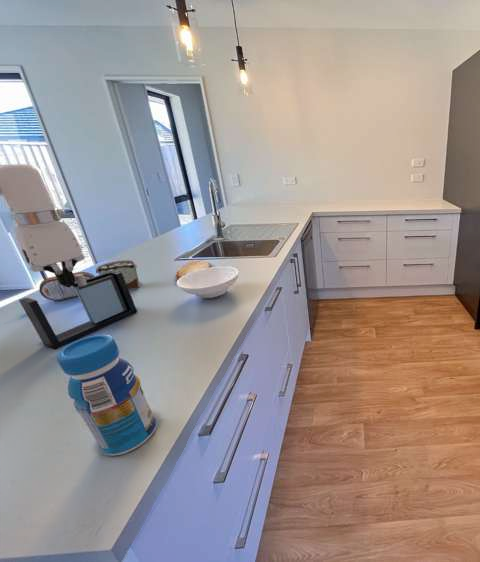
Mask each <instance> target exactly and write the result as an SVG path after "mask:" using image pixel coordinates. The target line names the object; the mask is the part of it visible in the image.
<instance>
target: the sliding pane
mask: <svg viewBox="0 0 480 562" xmlns="http://www.w3.org/2000/svg"><path fill="white" fill-rule="evenodd" d="M74 277H75V279H76V281H77V283H78V285H79V286H77V289H78V291H79V293H80V295H81V297H82V299H83V301H84V303H85V306H86V308H87V310H88V312H89V314H90V316H91V318H92V320H93V322H94V323H98V322H100V321H102V320H104V319H107V318H109V317H111V316H114V315H116V314H118V313H121V312H123V311H126V310H127V308H126V306H125V304H124V301H123V299H122V296H121V294H120V291H119V289H118V287H117V284H116V282H115V279H114V277H113V276H111V275H110V276H107V277H104V278H101V279H98V280H95V281H92V282H89V283H87V282H86V280H85V278H84V276H83V274H78V275H75V276H74Z"/></svg>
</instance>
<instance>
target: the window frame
mask: <svg viewBox="0 0 480 562" xmlns="http://www.w3.org/2000/svg"><path fill="white" fill-rule="evenodd" d="M110 275H111V276H113V277H114V279H115V282H116V284H117V287H118V289H119V291H120V294H121V296H122V299H123V301H124V304H125V306H126V308H127V310H126V311H123V312H121V313H118V314H116V315H114V316H111V317H109V318H107V319H104V320H102V321H100V322H98V323H94V322H93V320H92V318H91V316H90V314H89V312H88V310H87V308H86V306H85V303H84V301H83V299H82V297H81V295H80V293H79V291H78V289H77V286H79V285H78V283H77V282H76V283H75V284H76V285H75V286H73V287H74V288H75V291H76V293H77V295H78V296H77V297H78V299H79V300H80V303H81V305H82V307H83V309H84V311H85V314H86V317H88V320H89V321H86V322H84V323H82V324H78V325H77V326H75V327H72V328H69V329H67V330H65V331H63V332H60V333H58V334H56V333H55V331H54V329H53V328H52V326H51V324H50V322H49V321H48V319H47V316H46V315H45V313H44V311H43V310H42V307H41V305H40V304H39V302H38V300H36V299H33V298H30V297H23V298H20V299H18V301H19V303H20V305H21V307H22V308H23V311H24V312H25V314H26V315H27V318H28V319H29V321H30V322H31V325H32V326H33V327H34V329H35V331H36V334H37V335H38V337H39V338H40V340H41V342H42V344H43V345H44V347H47V348H49V349H52V350H57V349H59V348H62V347H63V346H64V347H65V346H67V345H69V344H71V343H73V342H75V341H77V340H80V339H82V338H85V337H86V336H88V335H91V334H92V333H94V332H97V331H99V330H101V329H103V328H106V327H108V326H110V325H112V324H114V323H117V322H119V321H122V320H123V319H125V318H128V317H130V316H132V315H135V314H136V313H138V310H137V307H136V305H135V303H134V300H133V298H132V294H131V293H130V290H128V287H127V285H126V282H125V280H124V277H123V275H122V272H117V271H112V270H111V271H108V272H106V273H104V274H101V275H99V274H97V275H94V276H95V277H92V278H88V279H85V280H86V282H87V283H89V282H92V281H95V280H98V279H101V278H104V277H107V276H110Z"/></svg>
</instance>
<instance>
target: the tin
mask: <svg viewBox="0 0 480 562" xmlns="http://www.w3.org/2000/svg"><path fill="white" fill-rule="evenodd" d="M78 274H83V276H84V278H85V279H88V278H92V277H95V276H96V275H94V274H92V272H91V273H90V272H88V271H77V272H73V275H74V276H75V275H78ZM74 282H75V283H76V282H77V281H74ZM39 294H40V295H41V297H43V298H45V299H46V300H49V301H63V300H68V299H72V298H77V297H78V295H77V293H76V291H75V288H74V287H73V286H71V287H65V286H63V285H60V284H59V282H58V280H57V278H56V276H55V275H54V276H50V277H47V278H45V279H43V280H42V281H41V283H39Z"/></svg>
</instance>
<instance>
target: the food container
mask: <svg viewBox="0 0 480 562" xmlns="http://www.w3.org/2000/svg"><path fill="white" fill-rule="evenodd" d="M137 269H138V265H137V263H136V262H135V261H134V260H130V259H124V260H123V259H122V260H117V261H115V260H114V261H110V262H107V263H103V264H101V265H98V266H96V267H95V274H98V275H101V274H104V273H106V272H108V271H111V270H112V271H117V272H122V275H123V277H124V280H125V282H126V285H127V287H128V290H129V291H130V290H136V289H141V285H140V281H139V275H138V271H137Z"/></svg>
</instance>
